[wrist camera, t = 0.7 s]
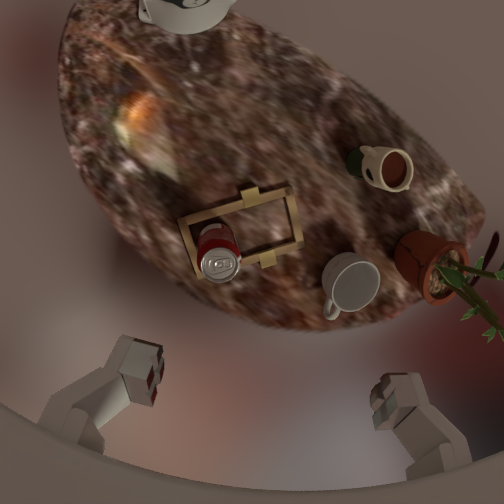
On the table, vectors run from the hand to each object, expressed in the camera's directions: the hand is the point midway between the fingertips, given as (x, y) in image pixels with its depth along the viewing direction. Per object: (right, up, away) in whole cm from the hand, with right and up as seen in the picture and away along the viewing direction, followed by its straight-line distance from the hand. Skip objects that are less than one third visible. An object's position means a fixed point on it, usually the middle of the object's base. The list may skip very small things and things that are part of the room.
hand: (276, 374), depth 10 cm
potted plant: (+34, +7, +51) cm, 61 cm away
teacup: (+17, -1, +51) cm, 54 cm away
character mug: (+20, +21, +43) cm, 52 cm away
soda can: (-7, +6, +44) cm, 45 cm away
